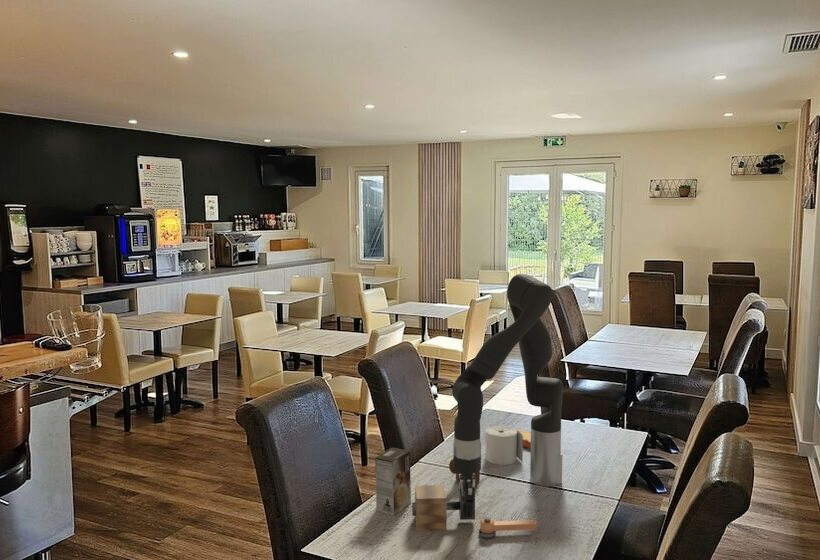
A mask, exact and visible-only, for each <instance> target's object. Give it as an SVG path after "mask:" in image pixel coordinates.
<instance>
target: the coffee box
mask: <svg viewBox="0 0 820 560" xmlns="http://www.w3.org/2000/svg"><path fill="white" fill-rule="evenodd" d="M374 460H375V462H374V463H375V500H376V503H375V504H376V505H375V507H376V508H375V509H376V511H378V512H381V513H383V514H386V515H387V514H388V515H391V516H395V515H397V514H398V513H400V512H401V511H402V510H403V509H405V508H406V507H407V506H408V505H409V506H410V504H412V496H411V495H412V493H411V492H412V491H411V490H412V489H411V486H412V485H411V451H410V450H407V449H401V448H397V447H390V448H389V449H387V450H385V451H384V452H382V453H381V454H379V455H377V456H375V459H374Z"/></svg>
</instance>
